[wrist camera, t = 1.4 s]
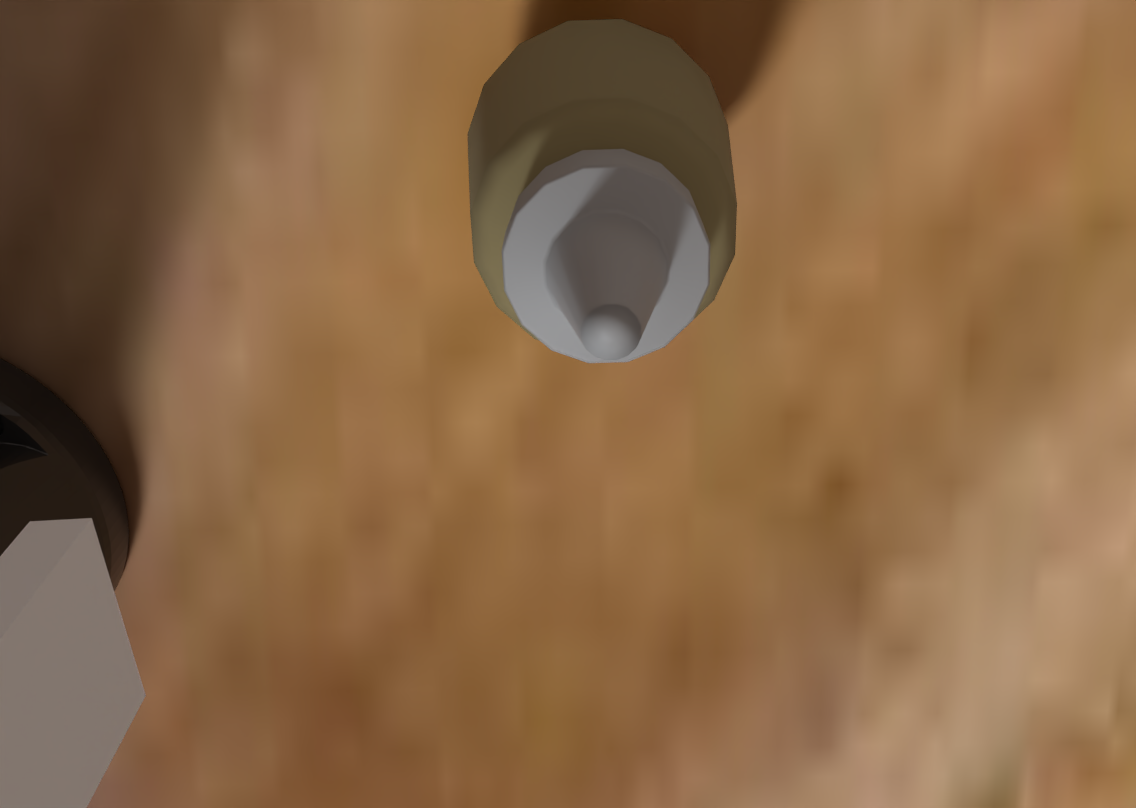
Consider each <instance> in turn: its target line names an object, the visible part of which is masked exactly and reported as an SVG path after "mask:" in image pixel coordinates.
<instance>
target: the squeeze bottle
mask: <svg viewBox="0 0 1136 808" xmlns="http://www.w3.org/2000/svg"><path fill="white" fill-rule="evenodd" d="M468 160H469V189H470V215H471V228H472V241H473V255H474V263H475V265H476V267H477V269H478V271H479V273H480V275H481V277H482V279H483V281H484V283H485V285H486V286H487V288H488V290H489V292H490V294H491V296H492V298H493V300H494V302H495V304H496V306H497V307H498V308H499V309H500V310H501V311H503V312H504V313H505V314H506V315H507V316H508V317H510V318H511V319H512V320H513V321H514V322H515V323H517V324H518V325H519V326H520V327H521V328H522V329H524V330H525V331H526V332H527V333H528V334H530V335H531V336H532V337H533V338H534V339H537V340H539V341H541V342H542V343H543V344H545V345H546V346H547V347H548V348H549V349H550V350H552V351H555V352H558V353H561V354H564V355H566V356H569V357H572V358H575V359H578V360H581V361H584V362H587V363H609V362H629V361H632V360H634V359H636V358H639V357H641V356H644V355H646V354H649V353H651V352H653V351H656V350H658V349H661V348H663V347H665V346H666V345H667V344H668V343H669V342H670V341H671V340H672V339H674V338H675V337H676V336H677V335H678V334H679V333H680V332H681V331H682V330H683V329H684V328H685V327H686V326H687V325H688V324H689V323H690V322H692V321H693V319H694V318H696V317H697V316H698V315H699V314H700V313H701V312H702V311H703V310H704V309H705V308H706V307H707V306H708V305H709V304H710V303H711V302H712V301H714V299H715V297H716V295H717V292H718V290H719V288H720V286H721V284H722V282H723V279H724V277H725V275H726V273H727V271H728V268H729V266H730V264H731V262H732V260H733V258H734V255H735V241H736V211H737V201H736V192H735V184H734V175H733V166H732V157H731V149H730V140H729V131H728V124H727V122H726V119H725V117H724V114H723V111H722V109H721V106H720V104H719V101H718V99H717V96H716V93H715V91H714V88H713V86H712V83H711V80H710V78H709V76H708V75H707V74H706V73H705V72H704V71H703V70H702V69H701V68H700V67H699V66H698V65H697V64H696V63H695V62H694V61H693V60H692V59H691V58H690V57H689V56H688V55H687V54H686V53H685V52H684V51H683V50H682V49H681V48H680V47H679V46H678V45H677V44H676V42H675V41H674V40H673V39H671V38H669V37H666V36H664V35H661V34H659V33H656V32H654V31H651V30H649V29H646V28H644V27H641V26H639V25H636V24H634V23H631V22H629V21H626V20H624V19H604V20H576V21H566V22H564V23H562V24H560V25H558V26H556V27H554V28H552V29H550V30H548V31H546V32H543V33H541V34H539V35H537V36H535V37H533V38H531V39H529V40H527V41H525V42H523V43H521V44H519V45H518V46H517V47H516V48H515V50H514V51H513V52H512V53H511V54H510V55H509V56H508V58H507V59H506V60H505V61H504V62H503V63H502V64H501V66H500V67H499V68H498V69H497V70H496V71H495V72H494V74H493V75H492V76H491V77H490V78H489V79H488V80H487V82H486V83H485V84H484V86H483V89H482V92H481V95H480V98H479V101H478V104H477V107H476V110H475V113H474V116H473V119H472V122H471V125H470V128H469V131H468Z"/></svg>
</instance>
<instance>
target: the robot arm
mask: <svg viewBox="0 0 1136 808" xmlns="http://www.w3.org/2000/svg"><path fill="white" fill-rule="evenodd" d="M128 541H129V529H128V517H127V511H126V506H125V502H124V497H123V494H122V491H121V488H120V485H119V482H118V480H117V477H116V475H115V472H114V470H113V468H112V466H111V464H110V462H109V460H108V458H107V457H106V455H105V453H104V452H103V450H102V448H101V447H100V445H99V444H98V442H97V441H96V439H95V438H94V437H93V435H92V434H91V433H90V431H89V430H88V429H87V428H86V426H85V425H84V424H83V423H82V421H81V420H80V419H79V418H78V417H77V416H76V415H75V414H74V413H73V412H72V411H71V410H70V409H69V408H68V407H67V406H66V405H65V404H64V403H63V402H62V401H61V400H60V399H59V398H58V397H56V396H55V395H54V394H53V393H52V392H51V391H49V390H48V389H47V388H46V387H44V386H43V385H42V384H40V383H39V382H38V381H36V380H35V379H33V378H32V377H30V376H29V375H27V374H26V373H24V372H23V371H21V370H20V369H18V368H16V367H14V366H13V365H11V364H9V363H8V362H6V361H4V360H2V359H0V808H87V806H88V804H89V802H90V800H91V798H92V796H93V794H94V793H95V791H96V789H97V787H98V785H99V783H100V781H101V779H102V777H103V775H104V774H105V772H106V770H107V768H108V766H109V764H110V762H111V760H112V758H113V756H114V755H115V753H116V751H117V749H118V747H119V745H120V743H121V741H122V739H123V738H124V736H125V734H126V732H127V730H128V728H129V726H130V724H131V722H132V720H133V719H134V717H135V715H136V713H137V711H138V709H139V707H140V705H141V703H142V702H143V700H144V698H145V696H146V695H145V692H144V688H143V685H142V682H141V678H140V675H139V672H138V669H137V665H136V662H135V659H134V655H133V652H132V649H131V646H130V642H129V639H128V636H127V632H126V629H125V626H124V623H123V619H122V616H121V613H120V609H119V606H118V603H117V600H116V596H115V593H114V591H115V589H116V587H117V585H118V583H119V580H120V578H121V576H122V573H123V570H124V566H125V562H126V558H127V551H128Z"/></svg>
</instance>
